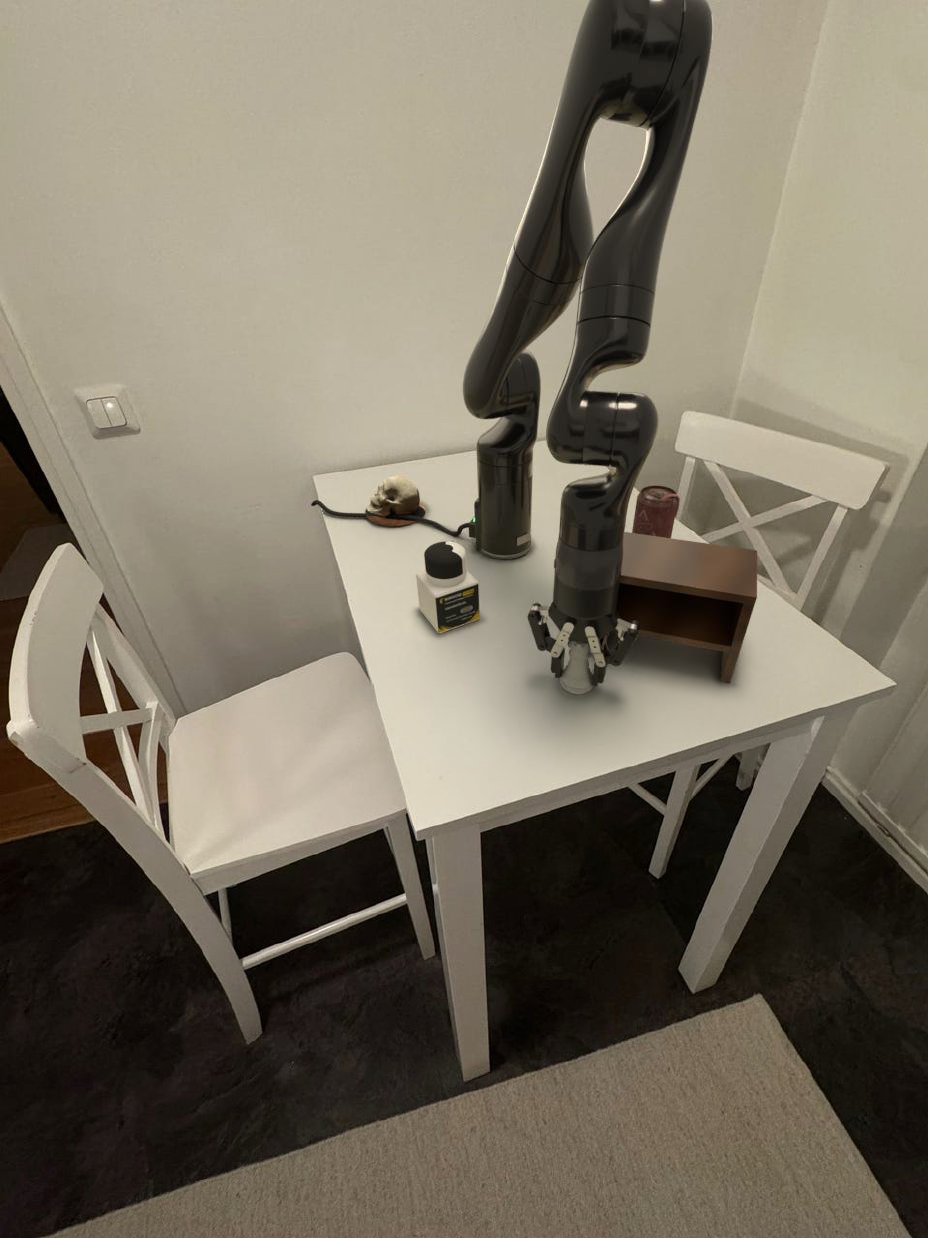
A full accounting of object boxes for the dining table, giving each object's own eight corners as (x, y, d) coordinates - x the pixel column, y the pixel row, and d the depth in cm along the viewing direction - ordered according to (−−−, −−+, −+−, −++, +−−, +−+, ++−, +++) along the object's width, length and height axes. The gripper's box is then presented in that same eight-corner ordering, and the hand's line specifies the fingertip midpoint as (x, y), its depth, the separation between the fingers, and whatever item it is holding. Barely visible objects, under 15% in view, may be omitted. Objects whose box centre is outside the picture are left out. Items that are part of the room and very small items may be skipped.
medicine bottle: (438, 634, 90) (432, 567, 83) (419, 610, 95) (411, 544, 88) (480, 619, 93) (478, 553, 85) (459, 596, 98) (455, 531, 90)
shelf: (593, 655, 85) (603, 572, 76) (608, 610, 93) (618, 530, 84) (730, 683, 80) (757, 597, 71) (732, 632, 88) (757, 550, 79)
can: (667, 580, 99) (682, 502, 90) (627, 577, 100) (638, 500, 91) (665, 560, 103) (679, 484, 95) (627, 557, 105) (637, 482, 96)
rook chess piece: (585, 700, 78) (590, 654, 73) (554, 689, 80) (557, 642, 75) (598, 679, 81) (604, 633, 76) (568, 668, 83) (571, 623, 78)
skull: (356, 524, 116) (358, 472, 117) (372, 536, 126) (374, 488, 127) (417, 524, 114) (419, 471, 115) (428, 535, 124) (430, 487, 125)
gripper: (655, 562, 70) (636, 671, 80) (536, 544, 74) (532, 649, 85) (646, 598, 64) (627, 710, 75) (518, 576, 69) (517, 684, 79)
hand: (577, 677), depth 80 cm, fingers closed on rook chess piece, 4 cm apart
